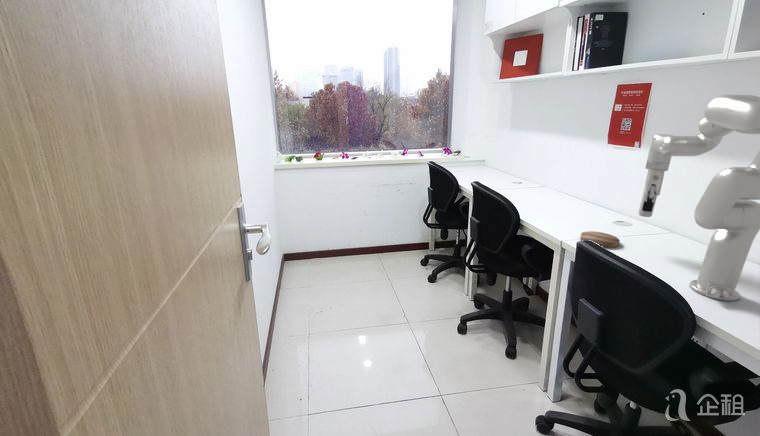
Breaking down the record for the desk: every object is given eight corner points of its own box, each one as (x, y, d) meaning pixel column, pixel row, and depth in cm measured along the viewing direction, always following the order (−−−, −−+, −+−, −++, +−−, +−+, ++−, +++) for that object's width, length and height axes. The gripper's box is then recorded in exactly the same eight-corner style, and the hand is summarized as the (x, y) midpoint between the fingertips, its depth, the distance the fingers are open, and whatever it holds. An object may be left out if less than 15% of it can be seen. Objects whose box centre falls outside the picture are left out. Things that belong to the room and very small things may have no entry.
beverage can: (647, 214, 157) (654, 186, 153) (654, 217, 152) (661, 189, 149) (635, 213, 157) (642, 186, 154) (641, 217, 153) (648, 188, 149)
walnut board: (618, 250, 155) (619, 246, 155) (578, 242, 163) (579, 238, 162) (619, 239, 167) (620, 235, 167) (581, 233, 175) (582, 229, 174)
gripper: (670, 170, 140) (658, 216, 145) (667, 164, 153) (656, 206, 159) (646, 167, 144) (635, 212, 149) (645, 162, 157) (635, 203, 163)
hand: (646, 209), depth 154 cm, fingers closed on beverage can, 4 cm apart
